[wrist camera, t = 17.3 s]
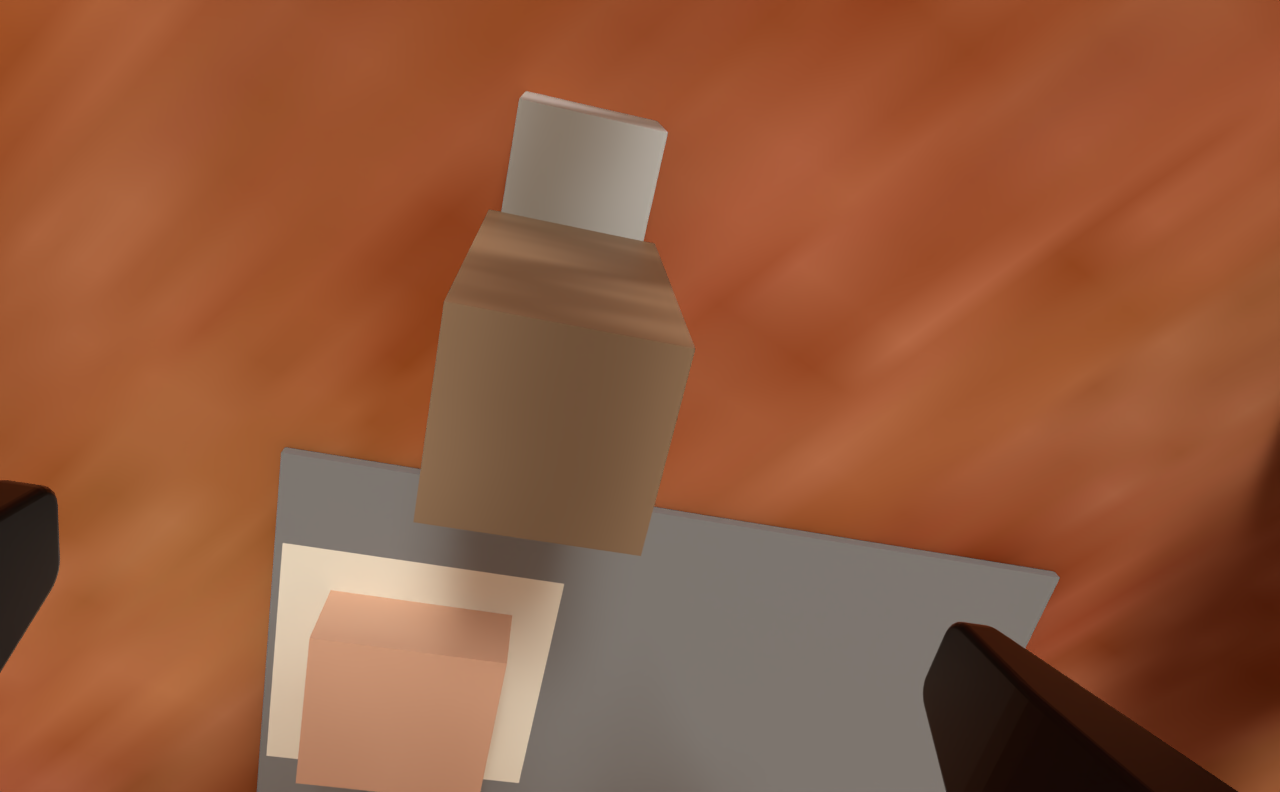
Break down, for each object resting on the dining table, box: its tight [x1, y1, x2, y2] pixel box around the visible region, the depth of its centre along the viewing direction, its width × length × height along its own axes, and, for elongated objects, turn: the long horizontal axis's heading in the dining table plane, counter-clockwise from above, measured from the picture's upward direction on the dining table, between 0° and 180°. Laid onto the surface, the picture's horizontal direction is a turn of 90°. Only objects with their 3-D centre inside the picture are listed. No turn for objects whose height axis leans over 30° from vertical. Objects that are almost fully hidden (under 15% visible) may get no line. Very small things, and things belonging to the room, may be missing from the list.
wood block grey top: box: [413, 91, 695, 556], centre depth 16 cm, size 4×8×9 cm, turn 168°
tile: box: [296, 590, 512, 792], centre depth 23 cm, size 5×5×2 cm
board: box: [257, 447, 1060, 792], centre depth 26 cm, size 22×13×1 cm, turn 77°
